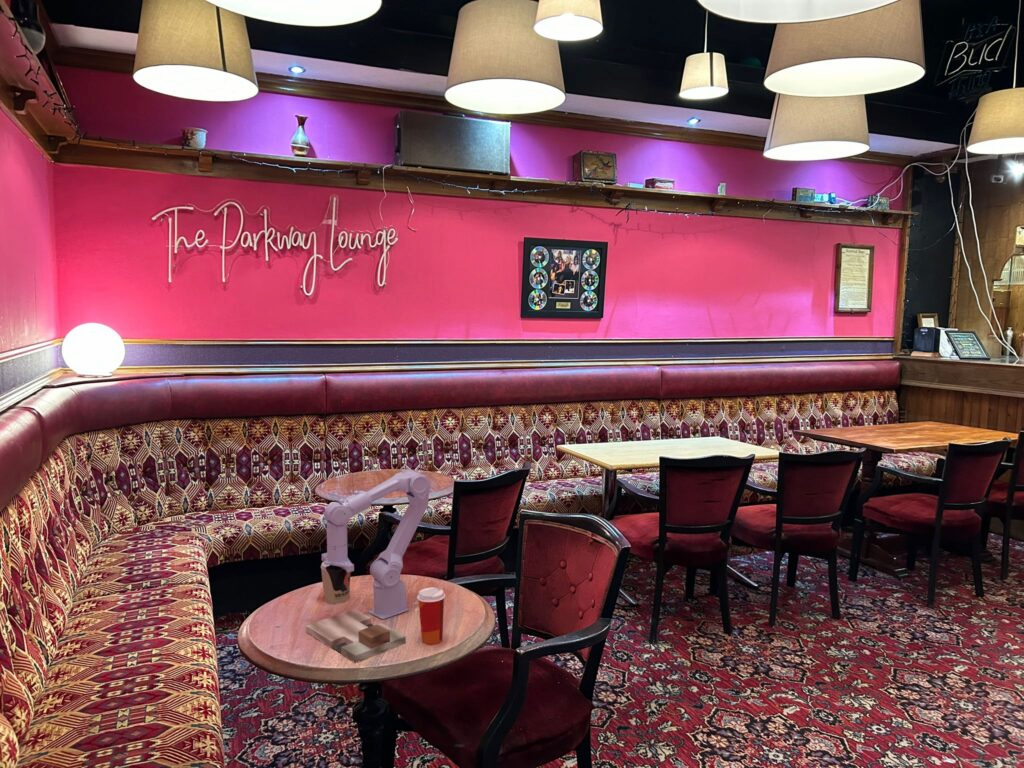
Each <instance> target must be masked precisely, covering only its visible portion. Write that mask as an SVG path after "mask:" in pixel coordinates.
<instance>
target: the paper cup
mask: <svg viewBox="0 0 1024 768" xmlns="http://www.w3.org/2000/svg"><path fill="white" fill-rule="evenodd" d="M445 597H446V594H445V592H444V590H443V589H441V588H439V587H438V588H437V587H432V586H431V587H425V588H422V589H421V590H419V591H418V595H417V601H418V608H419V610H418V611H419V622H420V632H421V633H420V635H421V642H422V644H423V645H427V646H435V645H439V644H440V643H442V642H443V635H444V634H443V631H444V630H443V629H444V610H445V609H444V607H445Z"/></svg>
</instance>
